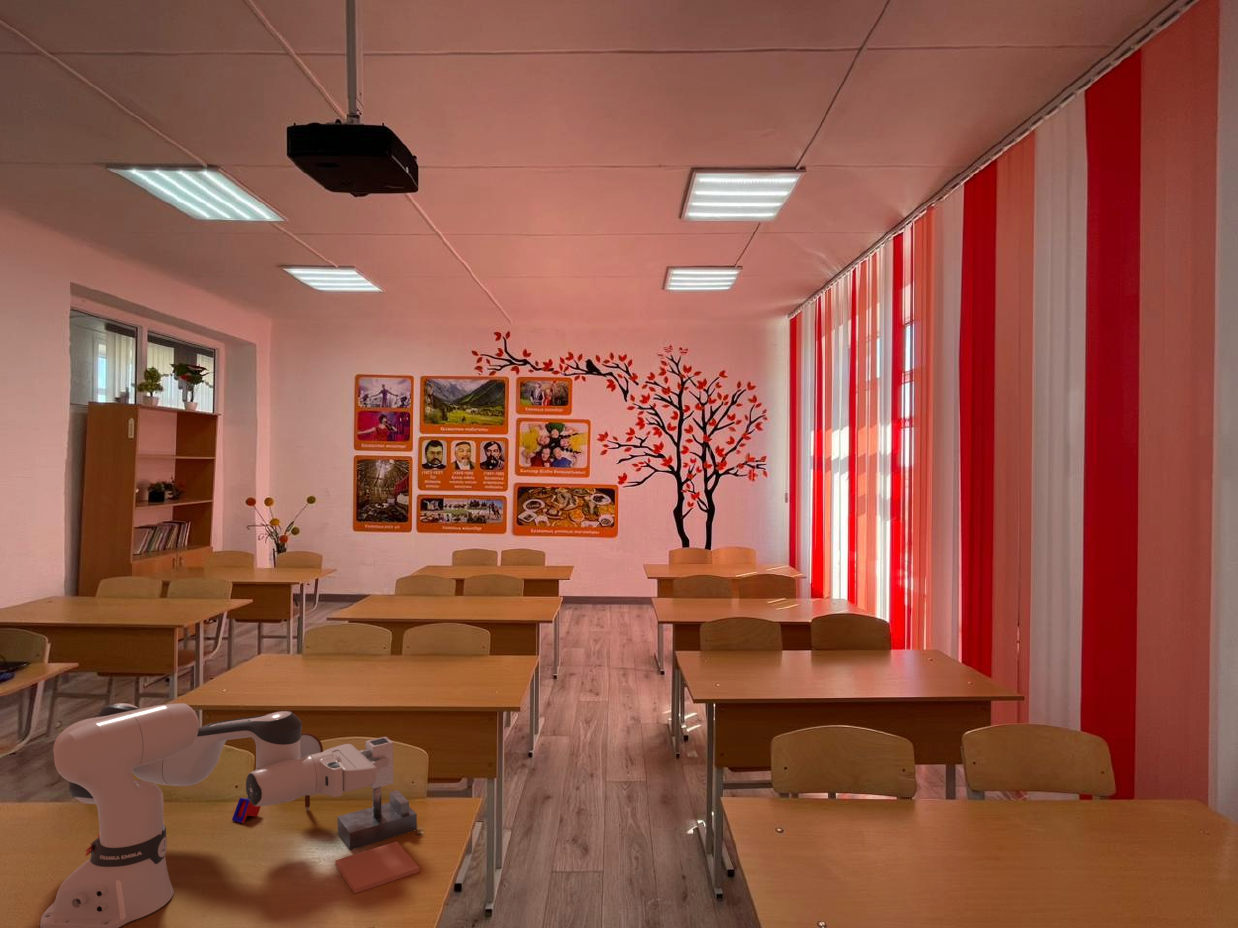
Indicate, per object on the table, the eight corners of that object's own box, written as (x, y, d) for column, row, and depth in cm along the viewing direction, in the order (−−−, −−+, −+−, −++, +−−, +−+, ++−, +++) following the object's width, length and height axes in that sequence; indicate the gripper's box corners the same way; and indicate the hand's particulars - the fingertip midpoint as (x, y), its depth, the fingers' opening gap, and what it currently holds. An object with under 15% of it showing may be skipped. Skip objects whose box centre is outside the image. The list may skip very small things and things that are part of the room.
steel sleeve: (372, 788, 183) (372, 746, 183) (365, 781, 187) (365, 740, 187) (393, 783, 186) (393, 742, 186) (386, 776, 190) (385, 736, 190)
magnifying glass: (290, 810, 197) (289, 733, 197) (294, 807, 198) (293, 730, 198) (321, 812, 195) (320, 734, 195) (324, 809, 197) (324, 732, 197)
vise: (350, 850, 177) (349, 794, 177) (337, 832, 185) (337, 779, 185) (416, 829, 186) (416, 776, 186) (402, 814, 194) (401, 763, 194)
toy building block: (254, 823, 193) (266, 790, 196) (241, 822, 190) (253, 788, 193) (244, 821, 195) (256, 787, 198) (231, 819, 191) (244, 785, 194)
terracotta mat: (354, 893, 159) (354, 888, 159) (335, 864, 171) (335, 859, 171) (419, 871, 167) (419, 867, 167) (396, 845, 179) (396, 841, 179)
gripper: (312, 770, 187) (369, 756, 195) (337, 799, 170) (398, 783, 179) (312, 744, 187) (368, 732, 195) (337, 771, 170) (397, 756, 179)
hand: (383, 756), depth 187 cm, fingers closed on steel sleeve, 5 cm apart
